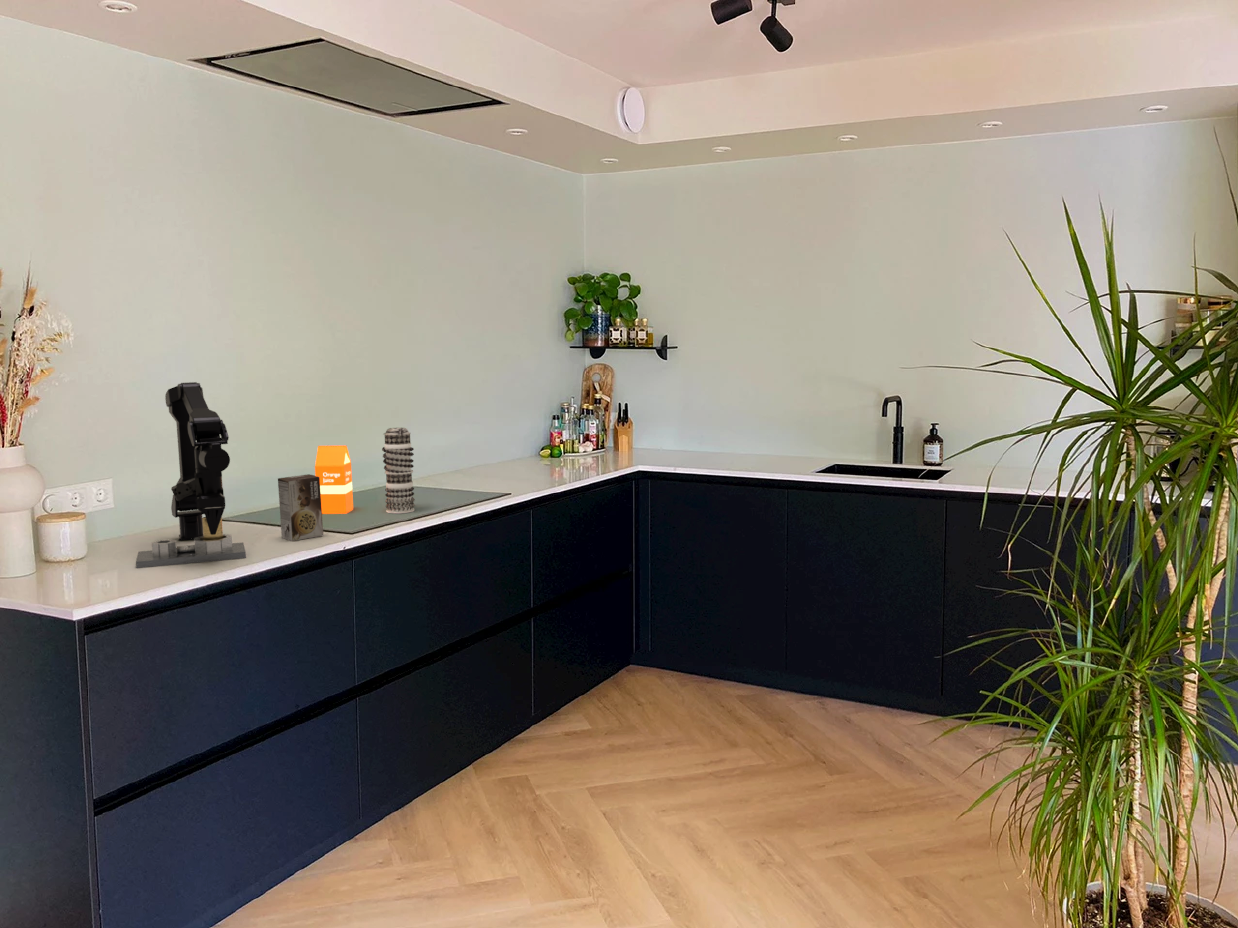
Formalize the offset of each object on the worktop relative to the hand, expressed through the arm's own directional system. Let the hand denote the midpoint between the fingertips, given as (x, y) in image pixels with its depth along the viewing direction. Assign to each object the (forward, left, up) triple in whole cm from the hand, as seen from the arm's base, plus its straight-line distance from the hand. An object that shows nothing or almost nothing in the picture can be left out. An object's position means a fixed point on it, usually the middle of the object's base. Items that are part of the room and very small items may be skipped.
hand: (212, 531), depth 248 cm
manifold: (0, -5, -6) cm, 8 cm away
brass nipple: (0, 0, -5) cm, 5 cm away
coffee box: (-14, +22, -6) cm, 27 cm away
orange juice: (-49, +35, -6) cm, 61 cm away
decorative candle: (-41, +53, -6) cm, 67 cm away
